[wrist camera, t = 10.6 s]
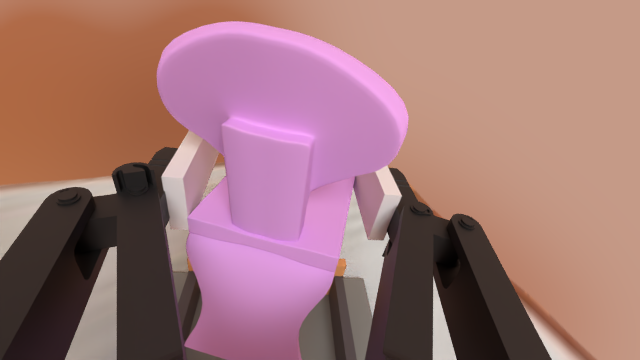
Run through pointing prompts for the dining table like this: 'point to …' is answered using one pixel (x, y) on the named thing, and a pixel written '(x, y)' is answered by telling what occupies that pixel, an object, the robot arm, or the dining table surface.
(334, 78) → the toy chair
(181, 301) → the grey and orange tray
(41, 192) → the dining table surface
